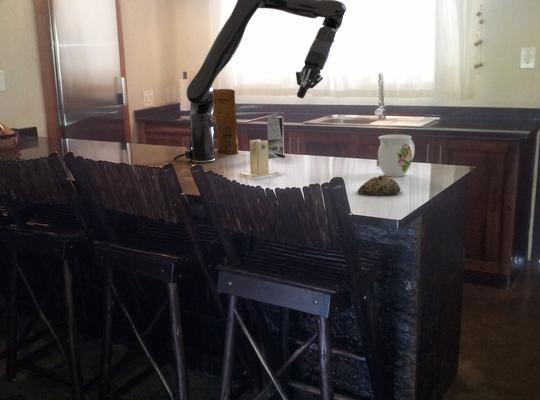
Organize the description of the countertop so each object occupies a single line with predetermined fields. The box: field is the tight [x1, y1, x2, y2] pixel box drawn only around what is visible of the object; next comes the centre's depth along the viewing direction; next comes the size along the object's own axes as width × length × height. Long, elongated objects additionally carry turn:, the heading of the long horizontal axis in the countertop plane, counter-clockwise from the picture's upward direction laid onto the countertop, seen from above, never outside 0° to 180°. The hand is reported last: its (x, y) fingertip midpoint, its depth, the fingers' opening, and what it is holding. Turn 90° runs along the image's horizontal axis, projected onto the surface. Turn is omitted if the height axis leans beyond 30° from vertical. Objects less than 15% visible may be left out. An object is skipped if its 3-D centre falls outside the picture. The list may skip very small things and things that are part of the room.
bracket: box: [239, 139, 280, 178], centre depth 229 cm, size 11×9×13 cm
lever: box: [253, 141, 286, 159], centre depth 230 cm, size 12×6×2 cm, turn 121°
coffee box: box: [266, 115, 285, 158], centre depth 267 cm, size 9×6×16 cm
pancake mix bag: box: [213, 88, 239, 155], centre depth 281 cm, size 7×19×28 cm, turn 26°
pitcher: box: [377, 134, 416, 178], centre depth 218 cm, size 11×18×14 cm, turn 124°
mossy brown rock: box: [357, 175, 402, 196], centre depth 197 cm, size 13×12×5 cm
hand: (299, 97), depth 238 cm, fingers closed
